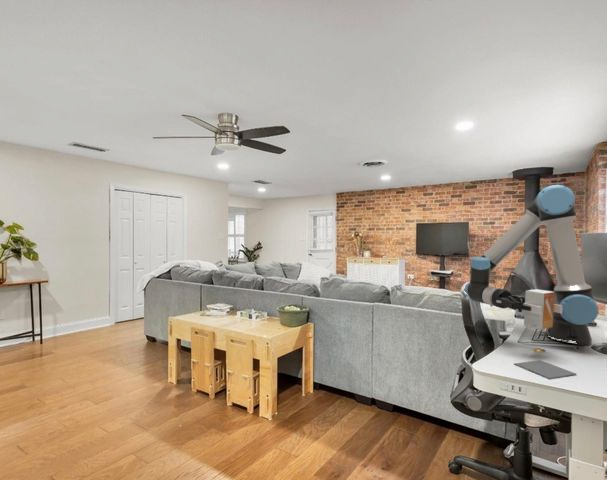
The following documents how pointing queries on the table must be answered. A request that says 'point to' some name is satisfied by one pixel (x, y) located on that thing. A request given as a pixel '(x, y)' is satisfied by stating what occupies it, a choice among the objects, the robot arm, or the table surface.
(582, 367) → the table surface
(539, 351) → the brass coin
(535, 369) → the slate mat
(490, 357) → the table surface
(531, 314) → the small box
